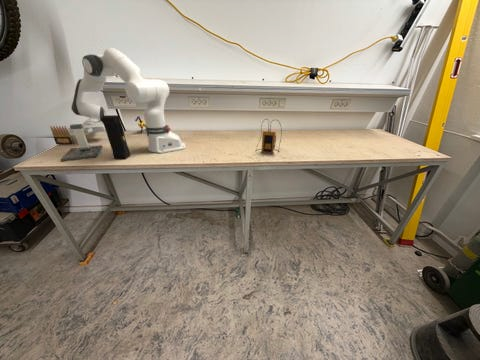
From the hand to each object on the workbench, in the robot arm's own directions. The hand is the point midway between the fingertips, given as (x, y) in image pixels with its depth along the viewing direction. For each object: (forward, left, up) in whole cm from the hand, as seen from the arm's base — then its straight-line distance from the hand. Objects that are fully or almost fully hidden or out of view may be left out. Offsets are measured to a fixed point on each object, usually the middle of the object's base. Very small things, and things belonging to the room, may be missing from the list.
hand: (85, 131), depth 123 cm
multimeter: (-105, +47, -9) cm, 115 cm away
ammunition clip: (+16, -9, -9) cm, 21 cm away
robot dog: (-32, -21, -9) cm, 39 cm away
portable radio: (-22, +29, -9) cm, 38 cm away
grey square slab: (0, +16, -9) cm, 18 cm away
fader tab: (0, +11, -7) cm, 13 cm away
